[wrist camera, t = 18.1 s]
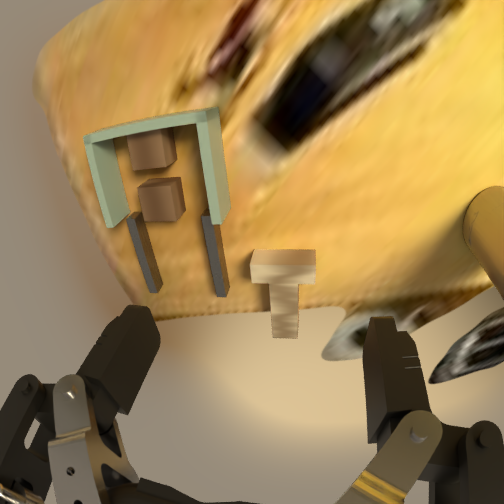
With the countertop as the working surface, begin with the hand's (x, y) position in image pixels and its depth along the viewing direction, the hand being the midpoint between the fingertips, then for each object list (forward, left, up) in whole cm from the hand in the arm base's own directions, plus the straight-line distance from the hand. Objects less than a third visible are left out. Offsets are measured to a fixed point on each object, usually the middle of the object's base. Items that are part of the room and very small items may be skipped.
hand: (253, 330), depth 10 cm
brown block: (+14, -3, -22) cm, 26 cm away
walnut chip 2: (+14, +3, -22) cm, 26 cm away
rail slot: (+14, +11, -22) cm, 28 cm away
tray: (+14, 0, -22) cm, 26 cm away
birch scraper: (+1, +10, -21) cm, 23 cm away
